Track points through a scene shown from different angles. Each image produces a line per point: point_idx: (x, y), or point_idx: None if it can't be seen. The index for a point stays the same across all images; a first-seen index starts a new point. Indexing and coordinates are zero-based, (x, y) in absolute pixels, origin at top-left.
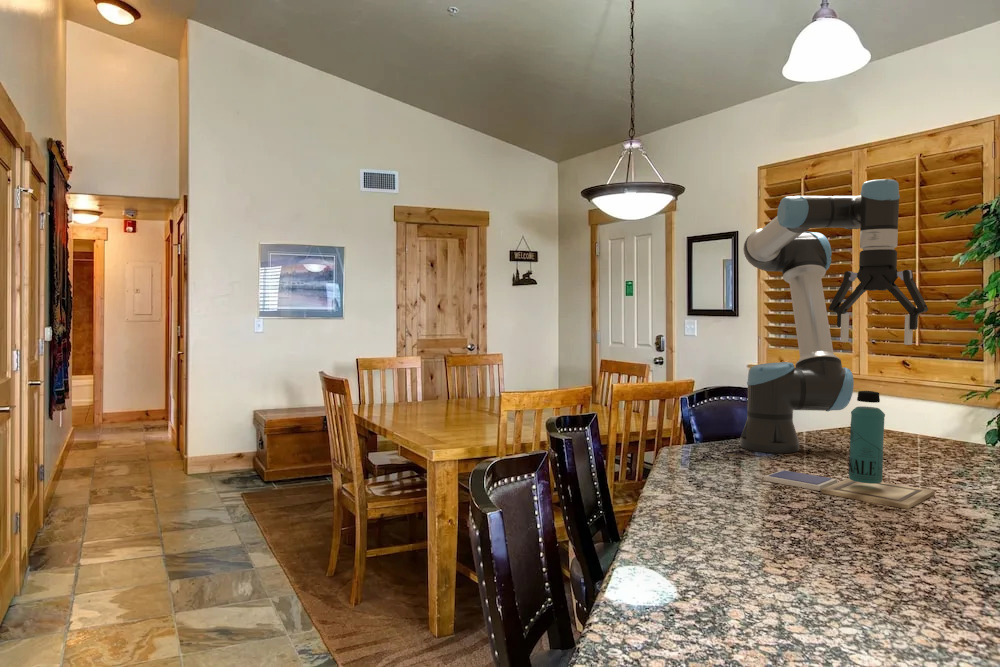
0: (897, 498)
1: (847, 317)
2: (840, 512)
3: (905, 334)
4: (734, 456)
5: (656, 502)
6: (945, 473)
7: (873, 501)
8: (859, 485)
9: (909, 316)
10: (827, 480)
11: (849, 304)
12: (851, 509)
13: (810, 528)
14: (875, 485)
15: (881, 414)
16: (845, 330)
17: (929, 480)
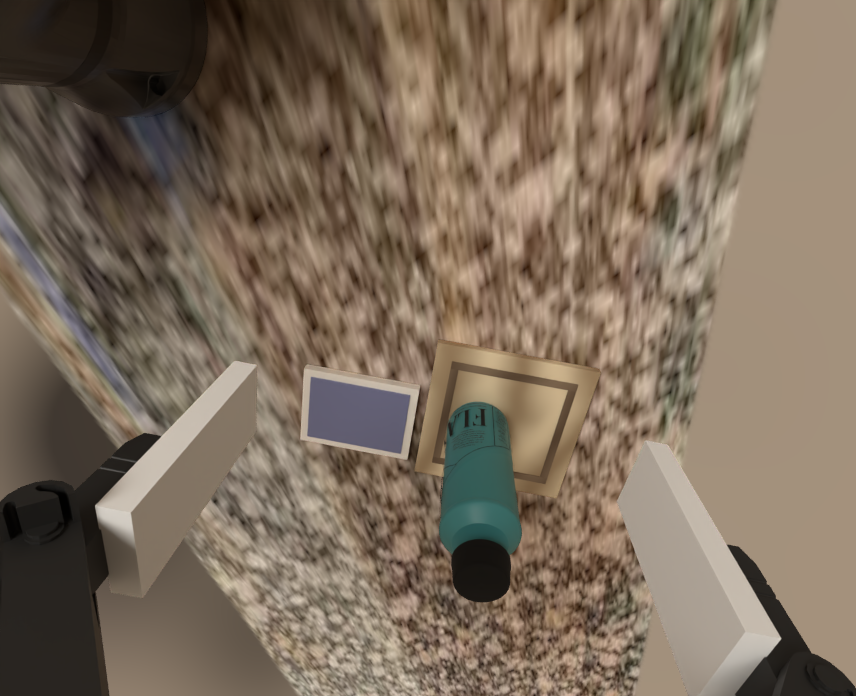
0: (538, 467)
1: (158, 516)
2: None
3: (642, 556)
4: (131, 229)
5: (255, 616)
6: (640, 82)
7: None
8: None
9: (724, 687)
10: (407, 413)
11: (106, 690)
12: None
13: (451, 628)
14: (492, 392)
15: (515, 549)
16: (220, 460)
17: (594, 221)
